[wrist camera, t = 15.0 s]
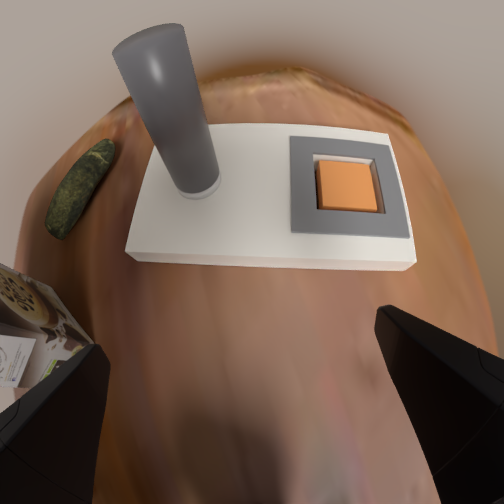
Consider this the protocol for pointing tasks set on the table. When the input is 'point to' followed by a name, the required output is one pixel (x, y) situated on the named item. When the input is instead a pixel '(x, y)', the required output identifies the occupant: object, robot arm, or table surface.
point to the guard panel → (276, 205)
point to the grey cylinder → (171, 105)
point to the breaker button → (345, 187)
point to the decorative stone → (78, 188)
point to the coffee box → (33, 330)
